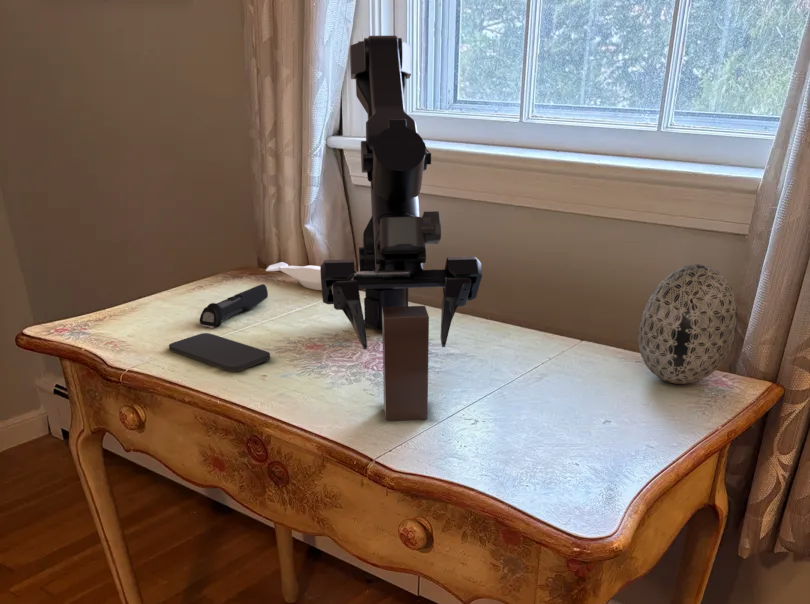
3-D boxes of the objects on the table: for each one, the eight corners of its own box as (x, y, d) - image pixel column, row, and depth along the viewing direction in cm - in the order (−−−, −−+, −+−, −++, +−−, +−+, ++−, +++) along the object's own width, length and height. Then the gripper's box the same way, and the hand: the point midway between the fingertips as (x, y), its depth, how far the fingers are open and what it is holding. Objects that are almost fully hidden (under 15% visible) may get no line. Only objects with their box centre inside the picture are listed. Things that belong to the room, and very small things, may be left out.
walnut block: (383, 407, 98) (381, 306, 91) (424, 405, 98) (425, 305, 91) (385, 421, 95) (384, 317, 88) (427, 419, 95) (428, 316, 88)
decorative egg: (727, 372, 107) (754, 258, 99) (718, 405, 98) (746, 282, 90) (639, 360, 111) (658, 249, 103) (623, 390, 102) (642, 271, 94)
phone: (206, 331, 119) (273, 353, 111) (206, 337, 119) (274, 358, 111) (165, 345, 114) (232, 368, 106) (166, 350, 115) (233, 374, 107)
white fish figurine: (338, 299, 135) (337, 275, 133) (265, 281, 145) (262, 259, 142) (359, 292, 139) (358, 268, 137) (286, 275, 148) (284, 253, 146)
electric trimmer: (275, 303, 134) (273, 284, 133) (217, 328, 123) (214, 308, 121) (256, 300, 136) (254, 281, 134) (198, 325, 124) (195, 305, 122)
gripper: (315, 185, 87) (321, 315, 84) (483, 182, 88) (495, 310, 85) (320, 243, 98) (325, 360, 95) (470, 239, 99) (480, 355, 96)
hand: (404, 346), depth 92 cm, fingers open, 9 cm apart
